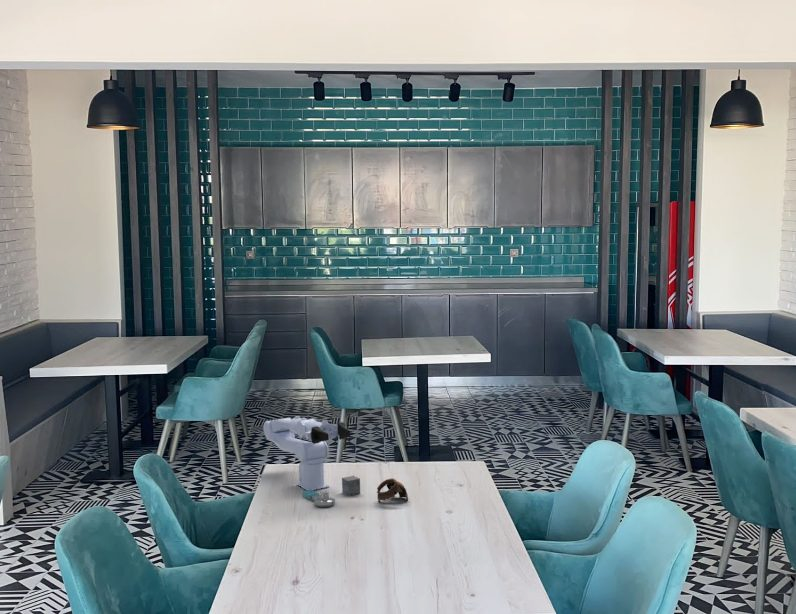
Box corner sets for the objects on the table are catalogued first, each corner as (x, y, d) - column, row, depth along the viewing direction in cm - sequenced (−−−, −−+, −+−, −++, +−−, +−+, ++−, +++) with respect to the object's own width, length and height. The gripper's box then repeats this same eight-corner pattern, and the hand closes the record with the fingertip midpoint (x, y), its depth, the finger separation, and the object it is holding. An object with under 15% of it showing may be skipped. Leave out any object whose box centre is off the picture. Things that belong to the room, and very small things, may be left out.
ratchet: (298, 496, 278) (297, 484, 278) (315, 493, 281) (315, 481, 281) (320, 509, 264) (319, 496, 264) (338, 505, 268) (337, 493, 267)
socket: (342, 492, 281) (341, 477, 281) (353, 490, 284) (353, 475, 283) (348, 495, 278) (348, 480, 277) (360, 493, 280) (359, 478, 280)
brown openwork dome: (412, 505, 267) (400, 486, 264) (386, 519, 268) (374, 499, 265) (407, 485, 278) (396, 467, 276) (382, 498, 279) (371, 480, 276)
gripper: (298, 422, 279) (317, 426, 267) (337, 416, 286) (356, 419, 275) (300, 443, 279) (318, 448, 267) (338, 436, 286) (358, 441, 275)
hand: (338, 435), depth 271 cm, fingers open, 7 cm apart
